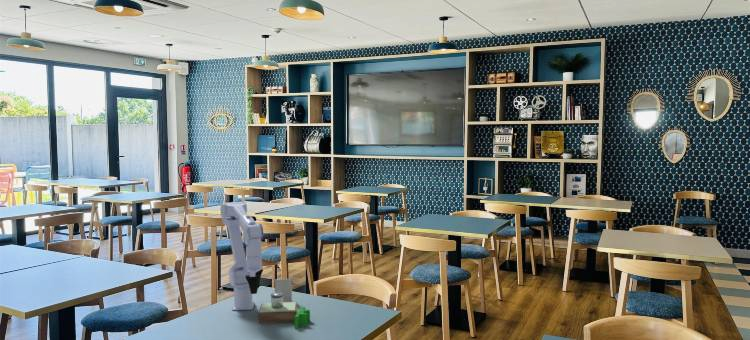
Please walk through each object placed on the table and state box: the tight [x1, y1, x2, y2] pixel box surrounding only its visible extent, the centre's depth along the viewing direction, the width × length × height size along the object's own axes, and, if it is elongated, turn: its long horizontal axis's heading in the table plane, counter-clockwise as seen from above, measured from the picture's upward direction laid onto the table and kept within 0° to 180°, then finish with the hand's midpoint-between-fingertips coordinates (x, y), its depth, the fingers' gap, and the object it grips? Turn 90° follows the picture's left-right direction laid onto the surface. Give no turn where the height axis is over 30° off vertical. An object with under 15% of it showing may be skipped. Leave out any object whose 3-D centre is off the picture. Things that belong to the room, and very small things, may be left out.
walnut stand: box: [257, 301, 298, 324], centre depth 206 cm, size 11×14×4 cm
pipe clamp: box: [294, 306, 311, 329], centre depth 200 cm, size 11×4×5 cm, turn 174°
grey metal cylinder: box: [270, 291, 283, 309], centre depth 205 cm, size 4×4×5 cm
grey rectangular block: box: [274, 278, 293, 302], centre depth 225 cm, size 4×7×10 cm, turn 95°
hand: (255, 290), depth 206 cm, fingers open, 7 cm apart
